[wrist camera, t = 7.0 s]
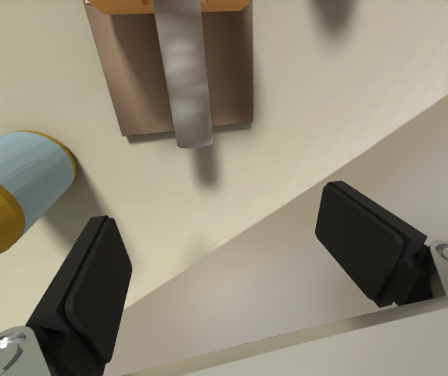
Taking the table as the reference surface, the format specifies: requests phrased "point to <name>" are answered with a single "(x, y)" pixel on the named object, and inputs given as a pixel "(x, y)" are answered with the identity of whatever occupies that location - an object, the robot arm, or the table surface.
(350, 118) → the table surface
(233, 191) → the table surface
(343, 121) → the table surface
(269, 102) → the table surface
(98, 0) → the collar
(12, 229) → the bottle
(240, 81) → the pipe stand
